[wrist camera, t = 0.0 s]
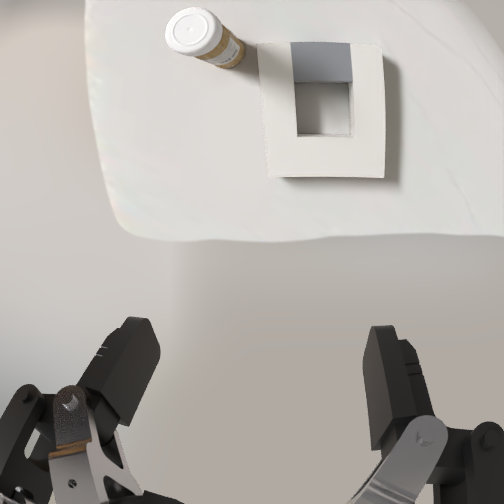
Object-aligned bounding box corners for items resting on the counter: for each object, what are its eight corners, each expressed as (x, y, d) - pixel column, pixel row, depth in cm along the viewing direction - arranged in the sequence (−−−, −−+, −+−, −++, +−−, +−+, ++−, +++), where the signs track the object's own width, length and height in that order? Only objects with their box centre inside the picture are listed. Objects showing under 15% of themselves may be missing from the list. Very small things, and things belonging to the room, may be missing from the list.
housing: (259, 49, 28) (256, 44, 26) (374, 50, 26) (381, 46, 23) (269, 171, 36) (267, 177, 33) (377, 172, 34) (384, 178, 31)
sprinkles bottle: (236, 31, 27) (204, -3, 16) (251, 60, 29) (226, 37, 18) (203, 46, 29) (155, 23, 17) (217, 75, 31) (175, 63, 19)
